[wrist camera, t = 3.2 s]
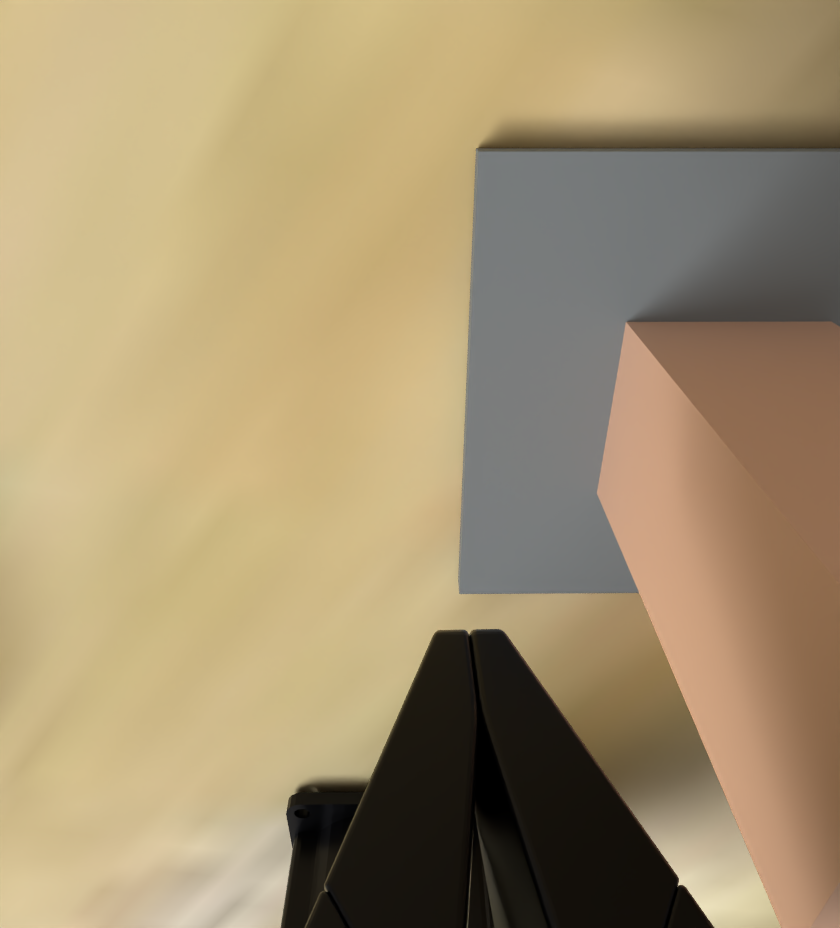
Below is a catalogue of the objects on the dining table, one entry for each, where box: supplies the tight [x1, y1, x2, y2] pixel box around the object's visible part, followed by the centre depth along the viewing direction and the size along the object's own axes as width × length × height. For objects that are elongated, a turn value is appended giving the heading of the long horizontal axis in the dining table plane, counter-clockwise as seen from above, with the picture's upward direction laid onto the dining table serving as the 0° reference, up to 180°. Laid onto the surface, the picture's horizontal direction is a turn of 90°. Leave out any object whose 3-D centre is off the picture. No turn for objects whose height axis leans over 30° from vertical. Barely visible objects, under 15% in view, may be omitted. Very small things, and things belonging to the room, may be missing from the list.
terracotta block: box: [597, 321, 840, 928], centre depth 10 cm, size 4×4×9 cm
